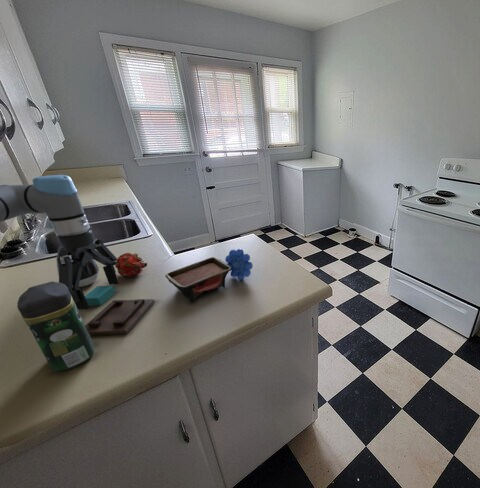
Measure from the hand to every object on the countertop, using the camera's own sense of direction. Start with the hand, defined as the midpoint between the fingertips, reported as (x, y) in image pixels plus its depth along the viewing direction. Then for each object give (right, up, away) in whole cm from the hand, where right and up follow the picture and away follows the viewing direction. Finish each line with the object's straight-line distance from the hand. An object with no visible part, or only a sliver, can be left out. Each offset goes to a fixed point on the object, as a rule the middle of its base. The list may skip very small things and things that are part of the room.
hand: (100, 295), depth 84 cm
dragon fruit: (0, +5, +15) cm, 16 cm away
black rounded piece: (-13, +2, +9) cm, 16 cm away
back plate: (+12, -5, -8) cm, 15 cm away
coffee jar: (+11, -11, -21) cm, 26 cm away
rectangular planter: (+29, +1, +6) cm, 30 cm away
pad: (0, -1, 0) cm, 1 cm away
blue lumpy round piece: (+41, +4, +12) cm, 43 cm away
